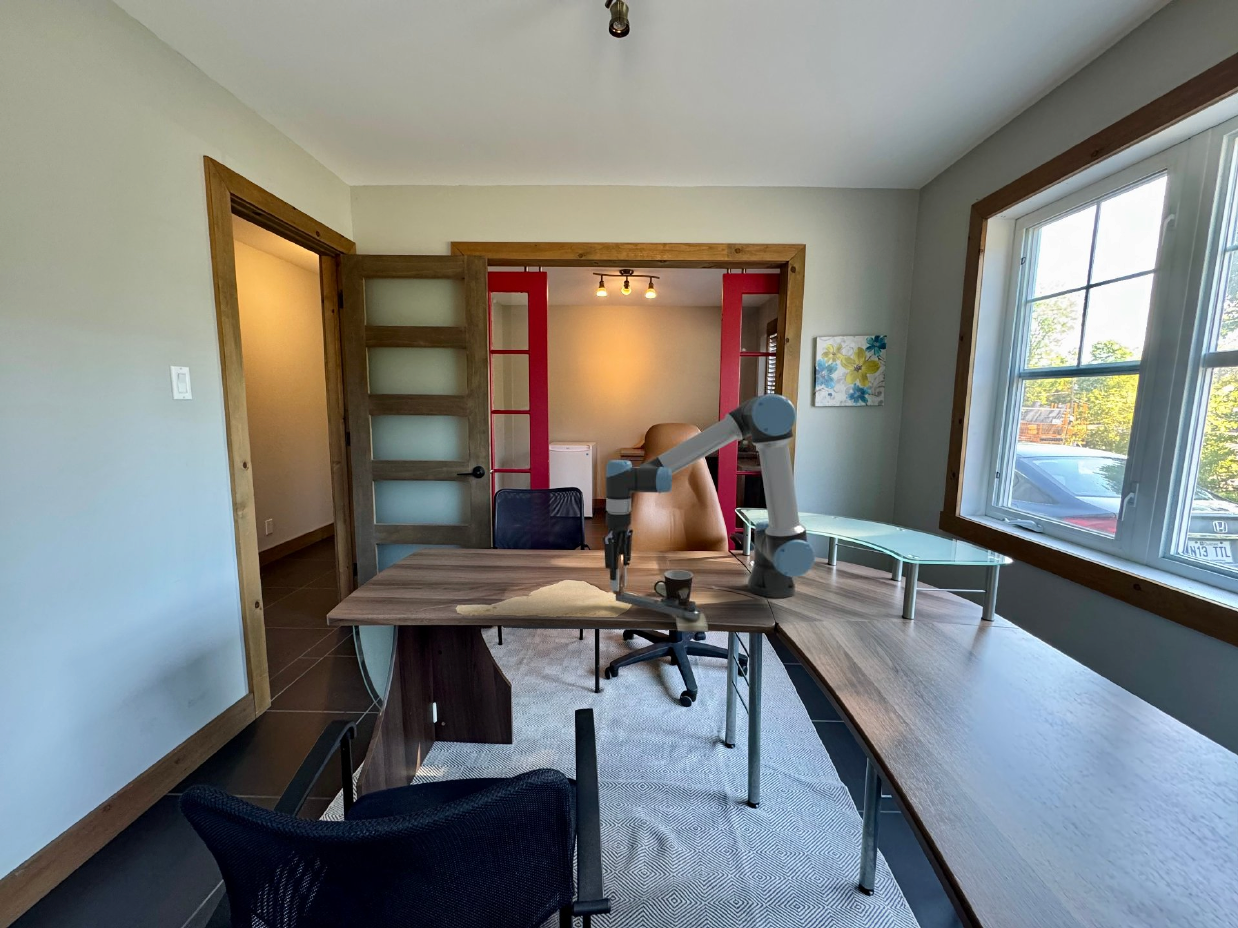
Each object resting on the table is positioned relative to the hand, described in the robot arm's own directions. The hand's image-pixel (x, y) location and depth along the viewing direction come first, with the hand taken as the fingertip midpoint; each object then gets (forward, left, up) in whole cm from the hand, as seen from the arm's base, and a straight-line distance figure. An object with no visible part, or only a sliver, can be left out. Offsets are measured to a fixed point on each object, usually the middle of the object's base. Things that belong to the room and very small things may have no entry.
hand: (618, 587), depth 142 cm
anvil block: (-17, -10, -6) cm, 20 cm away
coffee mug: (-17, -1, -6) cm, 18 cm away
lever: (-11, +5, -4) cm, 13 cm away
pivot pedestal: (-21, +12, -6) cm, 25 cm away
